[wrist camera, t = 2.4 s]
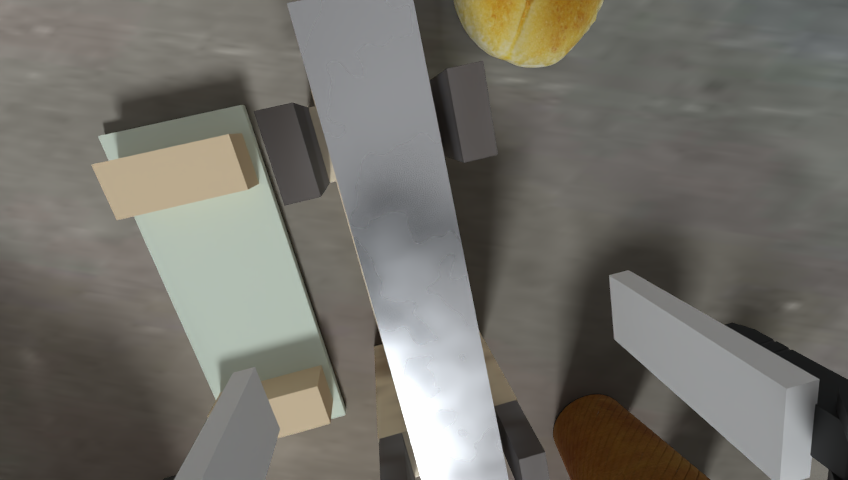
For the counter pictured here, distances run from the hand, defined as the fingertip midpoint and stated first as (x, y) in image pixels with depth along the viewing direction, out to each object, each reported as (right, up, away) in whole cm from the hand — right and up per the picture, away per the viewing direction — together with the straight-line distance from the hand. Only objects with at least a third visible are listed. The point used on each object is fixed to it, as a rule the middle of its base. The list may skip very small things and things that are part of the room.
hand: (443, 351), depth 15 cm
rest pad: (-13, +1, +12) cm, 17 cm away
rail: (-1, +1, +4) cm, 4 cm away
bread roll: (+5, +19, +10) cm, 22 cm away
